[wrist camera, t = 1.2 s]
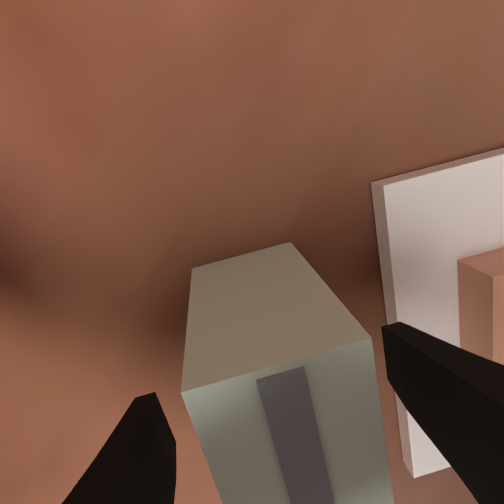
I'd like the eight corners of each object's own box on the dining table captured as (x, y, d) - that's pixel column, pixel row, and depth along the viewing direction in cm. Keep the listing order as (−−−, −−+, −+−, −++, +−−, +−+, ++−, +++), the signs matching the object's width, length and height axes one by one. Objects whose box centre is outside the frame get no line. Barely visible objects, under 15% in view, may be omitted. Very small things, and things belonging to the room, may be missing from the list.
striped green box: (315, 363, 16) (400, 534, 9) (230, 388, 15) (251, 582, 9) (290, 241, 14) (375, 342, 7) (191, 267, 13) (179, 398, 7)
